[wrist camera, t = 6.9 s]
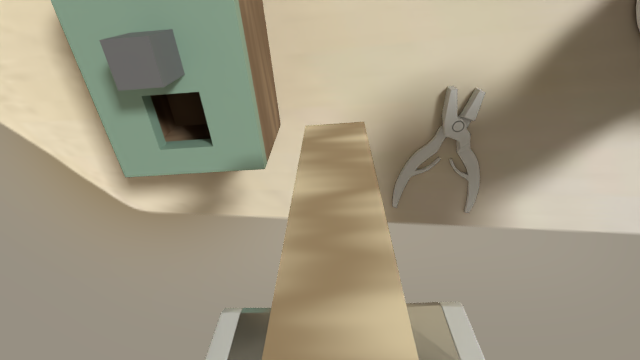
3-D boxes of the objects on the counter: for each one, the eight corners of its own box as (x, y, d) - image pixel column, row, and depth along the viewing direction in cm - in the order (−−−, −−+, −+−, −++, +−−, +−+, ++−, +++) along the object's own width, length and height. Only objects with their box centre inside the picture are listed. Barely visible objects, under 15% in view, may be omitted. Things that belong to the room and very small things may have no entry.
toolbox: (250, -83, 28) (218, -108, 20) (280, 124, 37) (267, 162, 29) (110, -68, 29) (28, -87, 21) (173, 132, 38) (132, 170, 30)
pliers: (392, 211, 41) (418, 85, 33) (389, 203, 42) (415, 81, 35) (473, 217, 41) (518, 93, 33) (469, 209, 42) (511, 89, 35)
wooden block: (363, 121, 17) (423, 379, 6) (364, 173, 19) (414, 456, 8) (305, 125, 17) (257, 381, 6) (311, 176, 19) (280, 456, 8)
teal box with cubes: (223, -105, 21) (190, -132, 16) (268, 157, 30) (256, 191, 25) (40, -84, 22) (-45, -104, 17) (138, 165, 31) (101, 200, 26)
